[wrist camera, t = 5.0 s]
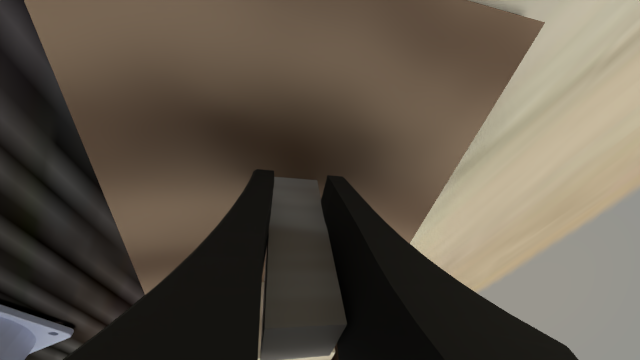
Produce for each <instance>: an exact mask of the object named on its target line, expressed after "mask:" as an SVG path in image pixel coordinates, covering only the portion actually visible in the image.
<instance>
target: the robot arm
mask: <svg viewBox="0 0 640 360" xmlns="http://www.w3.org/2000/svg"><path fill="white" fill-rule="evenodd" d="M273 189H274V171H273V170H262V169H256V170H255V171H253V174H252V176H251V178H250V180H249V182H248V184H247V185H246V187H245V189H244V190H243V192H242V193H241V195H240V196H239V198H238V199H237V201H236V202H235V203H234V205H233V206H232V208H231V209H230V210H229V211H228V213H227V214H226V215H225V216H224V218H223V219H222V220H221V221H220V223H219V224H218V225H217V226H216V227H215V229H214V230H213V231H212V232H211V233H210V234H209V235H208V236H207V237H206V239H205V240H204V241H203V242H202V243H201V244H200V245H199V246H198V247H197V248H196V249H195V250H194V251H193V252H192V253H191V254H190V255H189V256H188V257H187V258H186V259H185V260H184V261H183V262H182V263H181V264H180V265H178V266H177V267H176V268H175V269H174V270H173V271H172V272H171V273H170V274H169V275H168V276H167V277H166V278H164V279H163V280H162V281H161V282H160V283H159V284H158V285H157V286H155V287H154V288H153V289H152V290H151V291H149V292H148V293H147V294H146V295H145V296H143V297H142V298H141V299H140V300H138V301H137V302H136V303H135V304H134V305H132V306H131V307H130V308H129V309H128V310H126V311H125V312H124V313H123V314H122V315H120V316H119V317H118V318H117V319H115V320H114V321H113V322H112V323H111V324H109V325H108V326H107V327H105V328H104V329H103V330H102V331H100V332H99V333H98V334H96V335H95V336H94V337H92V338H91V339H90V340H88V341H87V342H86V343H84V344H83V345H82V346H80V347H79V348H78V349H76V350H75V351H74V352H72V353H71V354H70V355H68V356H67V357H66V358H64V359H63V360H258V343H259V324H260V305H261V286H262V273H263V267H264V261H265V255H266V248H267V241H268V231H269V223H270V217H271V207H272V198H273ZM321 206H322V211H323V216H324V220H325V224H326V227H327V230H328V235H329V239H330V244H331V249H332V254H333V259H334V263H335V268H336V273H337V278H338V283H339V287H340V292H341V297H342V302H343V306H344V311H345V316H346V321H347V325H346V327H345V329H344V331H343V333H342V334H341V336H340V338H339V340H338V342H337V348H338V359H339V360H578V359H577V358H576V356H575V355H574V354H573V353H572V352H571V350H570V349H569V348H568V347H567V346H565V345H564V344H562V343H560V342H558V341H557V340H554V339H553V338H551V337H549V336H548V335H546V334H544V333H542V332H541V331H539V330H537V329H535V328H534V327H532V326H530V325H528V324H527V323H525V322H523V321H521V320H519V319H518V318H516V317H514V316H512V315H511V314H509V313H507V312H506V311H504V310H502V309H501V308H499V307H498V306H496V305H495V304H493V303H491V302H490V301H488V300H486V299H485V298H483V297H482V296H480V295H479V294H477V293H476V292H474V291H473V290H471V289H470V288H468V287H467V286H465V285H464V284H462V283H461V282H459V281H458V280H456V279H455V278H454V277H452V276H451V275H449V274H448V273H447V272H445V271H444V270H442V269H441V268H440V267H438V266H437V265H436V264H434V263H433V262H432V261H430V260H429V259H428V258H426V257H425V256H424V255H423V254H421V253H420V252H419V251H418V250H417V249H415V248H414V247H413V246H412V245H410V244H409V243H408V242H407V241H406V240H405V239H403V238H402V237H401V236H400V235H399V234H398V233H397V232H396V231H395V230H394V229H393V228H392V227H390V226H389V225H388V224H387V223H386V222H385V221H384V220H383V219H382V218H381V217H380V216H379V215H378V214H377V213H376V212H375V211H374V210H373V209H372V208H371V206H370V205H369V204H368V203H367V202H366V201H365V200H364V199H363V198H362V197H361V196H360V195H359V193H358V192H357V191H356V190H355V189H354V188H353V187H352V186H351V185H350V183H349V182H348V181H347V180H346V179H345V178H344V177H343V176H331V175H327V179H326V183H325V187H324V190H323V194H322V198H321ZM73 332H74V330H73V329H72V328H70V327H67V326H64V325H61V324H58V323H55V322H52V321H49V320H46V319H43V318H40V317H37V316H34V315H31V314H28V313H25V312H22V311H19V310H16V309H13V308H10V307H7V306H4V305H1V304H0V360H25V358H26V357H27V355H28V354H30V353H33V352H35V351H38V350H40V349H43V348H45V347H48V346H50V345H53V344H55V343H58V342H60V341H63V340H65V339H67V338H70V337H71V336H72V334H73Z"/></svg>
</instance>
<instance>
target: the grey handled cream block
mask: <svg viewBox="0 0 640 360" xmlns="http://www.w3.org/2000/svg"><path fill="white" fill-rule="evenodd" d="M346 325H347V321H346V316H345V311H344V306H343V302H342V297H341V292H340V287H339V283H338V278H337V273H336V268H335V263H334V259H333V254H332V249H331V244H330V239H329V235H328V230H327V227H326V224H325V220H324V216H323V211H322V206H321V196H320V192H319V187H318V182H317V180H308V179H296V178H284V177H274V189H273V198H272V207H271V217H270V223H269V231H268V241H267V248H266V258H265V276H264V282H262V286H261V305H260V324H259V343H258V360H331V359H332V357H333V356H334V354H335V345H336V343H337V342H338V340H339V338H340V336H341V334H342V333H343V331H344V329H345V327H346Z"/></svg>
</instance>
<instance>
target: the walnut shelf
mask: <svg viewBox="0 0 640 360" xmlns="http://www.w3.org/2000/svg"><path fill="white" fill-rule="evenodd" d="M24 2H25V4H26V7H27V9H28V11H29V14H30V16H31V19H32V21H33V24H34V26H35V28H36V31H37V33H38V36H39V38H40V41H41V43H42V45H43V48H44V50H45V53H46V55H47V58H48V60H49V62H50V65H51V67H52V70H53V72H54V75H55V77H56V79H57V82H58V84H59V87H60V89H61V92H62V94H63V96H64V99H65V101H66V104H67V106H68V109H69V111H70V113H71V116H72V118H73V121H74V123H75V126H76V128H77V130H78V133H79V135H80V138H81V140H82V143H83V145H84V147H85V150H86V152H87V155H88V157H89V160H90V162H91V164H92V167H93V169H94V172H95V174H96V177H97V179H98V181H99V184H100V186H101V189H102V191H103V194H104V196H105V198H106V201H107V203H108V206H109V208H110V211H111V213H112V215H113V218H114V220H115V223H116V225H117V228H118V230H119V232H120V235H121V237H122V240H123V242H124V245H125V247H126V249H127V252H128V254H129V257H130V259H131V262H132V264H133V266H134V269H135V271H136V274H137V276H138V279H139V281H140V283H141V286H142V288H143V291H144V293H145V295H146V294H147V293H148V292H149V291H151V290H152V289H153V288H154V287H155V286H157V285H158V284H159V283H160V282H161V281H162V280H163V279H164V278H166V277H167V276H168V275H169V274H170V273H171V272H172V271H173V270H174V269H175V268H176V267H177V266H178V265H180V264H181V263H182V262H183V261H184V260H185V259H186V258H187V257H188V256H189V255H190V254H191V253H192V252H193V251H194V250H195V249H196V248H197V247H198V246H199V245H200V244H201V243H202V242H203V241H204V240H205V239H206V237H207V236H208V235H209V234H210V233H211V232H212V231H213V230H214V229H215V227H216V226H217V225H218V224H219V223H220V221H221V220H222V219H223V218H224V216H225V215H226V214H227V213H228V211H229V210H230V209H231V208H232V206H233V205H234V203H235V202H236V201H237V199H238V198H239V196H240V195H241V193H242V192H243V190H244V189H245V187H246V185H247V184H248V182H249V180H250V178H251V176H252V174H253V171H255V170H256V169H262V170H273V171H274V177H284V178H296V179H308V180H317V182H318V187H319V192H320V196H321V198H322V194H323V190H324V187H325V183H326V179H327V175H331V176H343V177H344V178H345V179H346V180H347V181H348V182H349V183H350V185H351V186H352V187H353V188H354V189H355V190H356V191H357V192H358V193H359V195H360V196H361V197H362V198H363V199H364V200H365V201H366V202H367V203H368V204H369V205H370V206H371V208H372V209H373V210H374V211H375V212H376V213H377V214H378V215H379V216H380V217H381V218H382V219H383V220H384V221H385V222H386V223H387V224H388V225H389V226H390V227H392V228H393V229H394V230H395V231H396V232H397V233H398V234H399V235H400V236H401V237H402V238H403V239H405V240H406V241H407V242H408V243H410V242H411V240H412V239H413V237H414V235H415V234H416V232H417V230H418V229H419V227H420V225H421V224H422V222H423V221H424V219H425V217H426V216H427V214H428V212H429V211H430V209H431V208H432V206H433V204H434V203H435V201H436V199H437V198H438V196H439V195H440V193H441V191H442V190H443V188H444V186H445V185H446V183H447V181H448V180H449V178H450V177H451V175H452V173H453V172H454V170H455V168H456V167H457V165H458V164H459V162H460V160H461V159H462V157H463V155H464V154H465V152H466V151H467V149H468V147H469V146H470V144H471V142H472V141H473V139H474V137H475V136H476V134H477V133H478V131H479V129H480V128H481V126H482V124H483V123H484V121H485V120H486V118H487V116H488V115H489V113H490V111H491V110H492V108H493V107H494V105H495V103H496V102H497V100H498V98H499V97H500V95H501V94H502V92H503V90H504V89H505V87H506V85H507V84H508V82H509V80H510V79H511V77H512V76H513V74H514V72H515V71H516V69H517V67H518V66H519V64H520V63H521V61H522V59H523V58H524V56H525V54H526V53H527V51H528V50H529V48H530V46H531V45H532V43H533V41H534V40H535V38H536V36H537V35H538V33H539V32H540V30H541V28H542V27H543V25H544V23H545V22H541V21H538V20H534V19H531V18H527V17H524V16H520V15H517V14H513V13H510V12H506V11H503V10H499V9H496V8H492V7H489V6H485V5H482V4H478V3H475V2H471V1H468V0H24ZM265 258H266V255H265ZM264 276H265V261H264V267H263V273H262V282H264ZM331 360H339V359H338V348H337V343H336V345H335V354H334V356H333V357H332V359H331Z"/></svg>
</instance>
